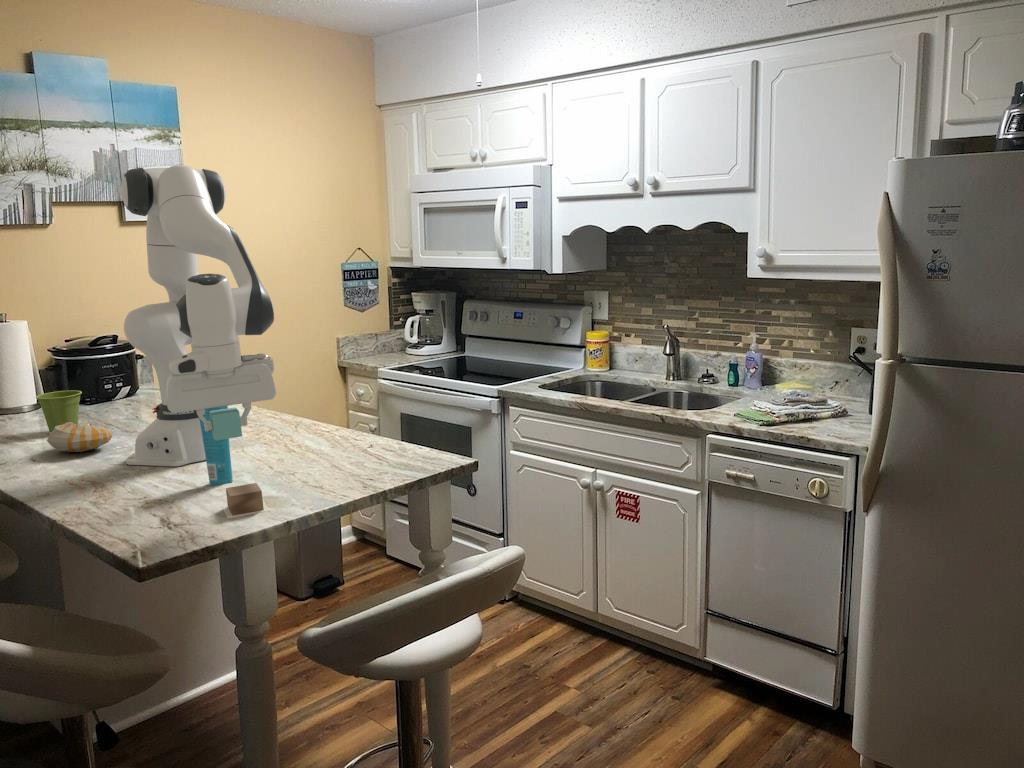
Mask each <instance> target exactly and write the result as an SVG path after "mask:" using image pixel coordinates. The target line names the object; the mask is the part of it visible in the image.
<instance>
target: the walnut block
mask: <svg viewBox="0 0 1024 768" xmlns="http://www.w3.org/2000/svg"><path fill="white" fill-rule="evenodd" d="M262 491H263V490H262V489H261V488H260V486H259V484H258V483H257V482H254V483H247V484H243V485H241V484H240V485H236V486H230V487H225V492H226V501H227V506H228V508H229V510H230V512H231V514H232V516H234V515H240V514H245V513H250V512H256V511H261V510H264V508H263V501H264V499H263V492H262Z"/></svg>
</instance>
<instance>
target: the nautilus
mask: <svg viewBox="0 0 1024 768" xmlns="http://www.w3.org/2000/svg"><path fill="white" fill-rule="evenodd" d="M61 424H62V422H61ZM112 437H113V433H112V431H111V430H109V429H108V428H106V427H103V426H98V425H96V424H93V423H84V424H79V423H78V424H74V423H72V422H70V423H65V424H64V423H63V425H58V426H55V428H54V430H53V431H52V432H51V433H50V432H49V435H48V437H47V439H46V442H47V443H48V444H49V445H50V447H52V448H54V449H55V450H56V451H58V452H66V451H67V453H69V452H80V453H82V452H86V451H89V450H90V451H91V450H94V448H96V449H98V448H100V447H101V446H103V445H106V444H108V443H109V442H110V441H111V439H112Z"/></svg>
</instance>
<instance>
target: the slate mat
mask: <svg viewBox="0 0 1024 768" xmlns="http://www.w3.org/2000/svg"><path fill="white" fill-rule="evenodd" d="M221 507H222V509H223V510H222V511H223V512H224V514H225V516H226V518H227V519H232V518H233V519H234V518H239V517H242V516H243V517H244V516H248V515H249V516H250V515H255V514H259V513H264V512H271V511H270V508H269V506H267V504H266V502H265V501H264V500H263V508H264V510H261V511H256V512H250V513H245V514H240V515H234V516H232V514H231V512H230V510H229V508H228V505H223V506H221Z"/></svg>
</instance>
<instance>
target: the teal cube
mask: <svg viewBox="0 0 1024 768" xmlns="http://www.w3.org/2000/svg"><path fill="white" fill-rule="evenodd" d="M209 413H210V420H211V421H212V423H213V426H212V427H213V431H212V435H213V437H214V439H215V440H223V439H229V440H230V439H234V438H240V437H243V432H242V431H243V430H242V426H241V422H240V416H241V415H240V411H239V410H238V408H237V407H228V409H221V410H214V411H209Z"/></svg>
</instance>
